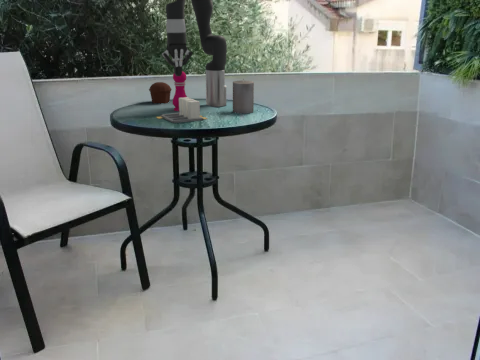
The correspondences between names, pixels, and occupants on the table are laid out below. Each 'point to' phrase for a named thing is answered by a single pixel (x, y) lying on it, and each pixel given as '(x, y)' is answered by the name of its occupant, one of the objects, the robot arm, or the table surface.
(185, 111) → the tab middle
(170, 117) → the switch box
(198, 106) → the block
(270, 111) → the table surface
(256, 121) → the table surface
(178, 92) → the pepper mill
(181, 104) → the tab inner
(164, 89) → the muffin
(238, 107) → the pillar candle
